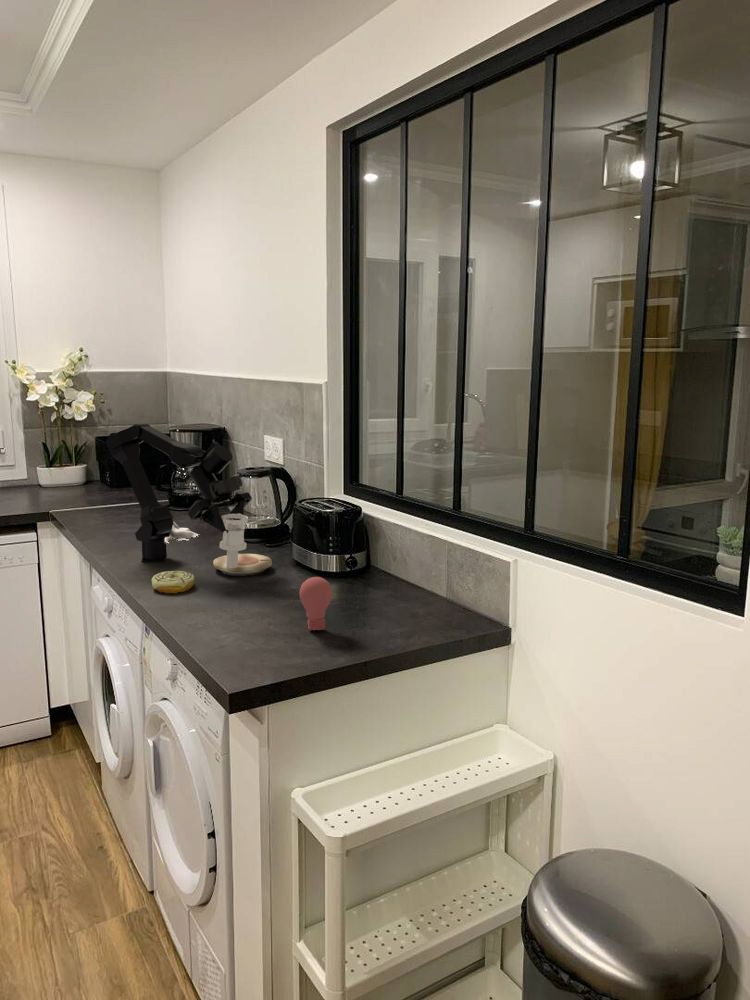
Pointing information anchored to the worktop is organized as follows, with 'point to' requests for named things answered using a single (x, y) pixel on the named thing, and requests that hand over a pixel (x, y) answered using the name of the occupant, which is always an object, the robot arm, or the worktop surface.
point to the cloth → (180, 533)
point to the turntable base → (242, 573)
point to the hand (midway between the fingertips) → (236, 530)
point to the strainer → (233, 537)
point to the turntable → (244, 563)
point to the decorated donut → (173, 581)
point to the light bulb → (315, 601)
